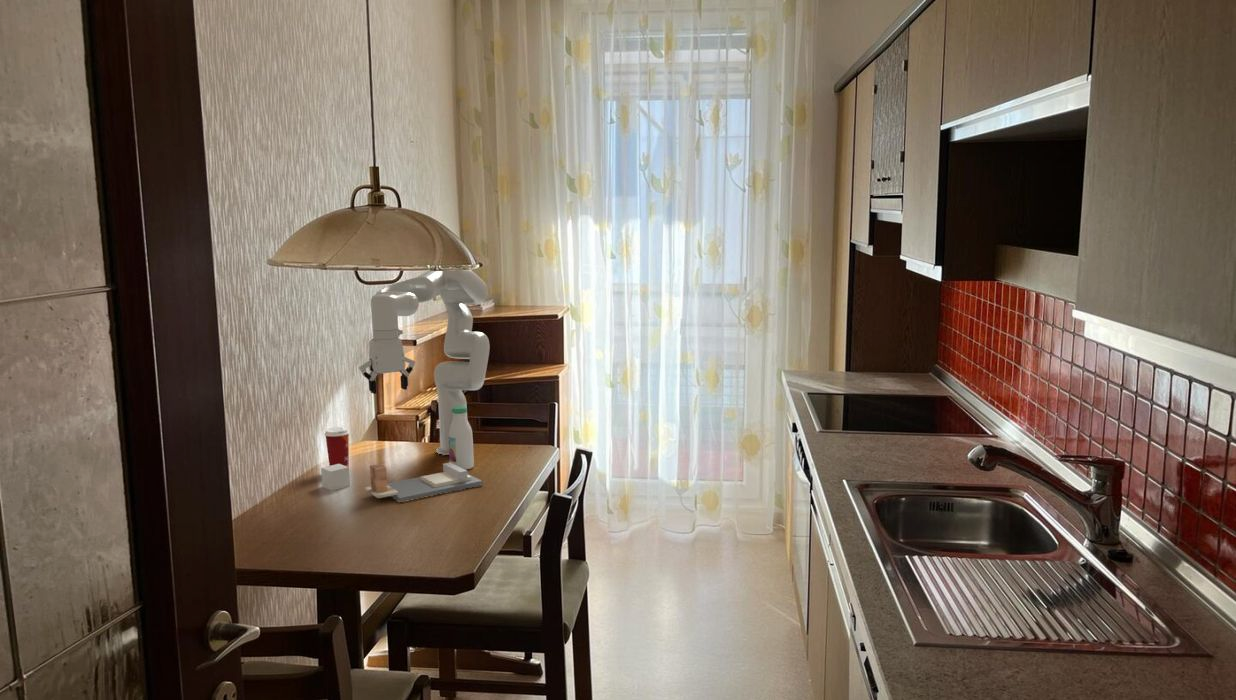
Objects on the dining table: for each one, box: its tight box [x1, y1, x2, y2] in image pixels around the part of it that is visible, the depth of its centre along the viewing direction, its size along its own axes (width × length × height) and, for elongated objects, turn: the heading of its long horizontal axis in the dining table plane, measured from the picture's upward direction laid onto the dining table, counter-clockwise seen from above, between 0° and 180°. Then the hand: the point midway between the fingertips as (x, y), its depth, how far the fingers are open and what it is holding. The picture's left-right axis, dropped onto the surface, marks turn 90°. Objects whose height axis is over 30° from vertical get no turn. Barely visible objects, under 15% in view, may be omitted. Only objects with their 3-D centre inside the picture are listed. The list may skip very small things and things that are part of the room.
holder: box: [387, 461, 483, 502], centre depth 263 cm, size 16×26×5 cm, turn 126°
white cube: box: [320, 464, 351, 491], centre depth 266 cm, size 6×6×6 cm
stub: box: [364, 463, 398, 499], centre depth 254 cm, size 10×6×8 cm, turn 36°
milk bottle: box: [448, 406, 475, 471], centre depth 283 cm, size 8×8×20 cm
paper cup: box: [324, 426, 351, 468], centre depth 281 cm, size 8×8×14 cm
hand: (389, 391), depth 267 cm, fingers open, 9 cm apart
